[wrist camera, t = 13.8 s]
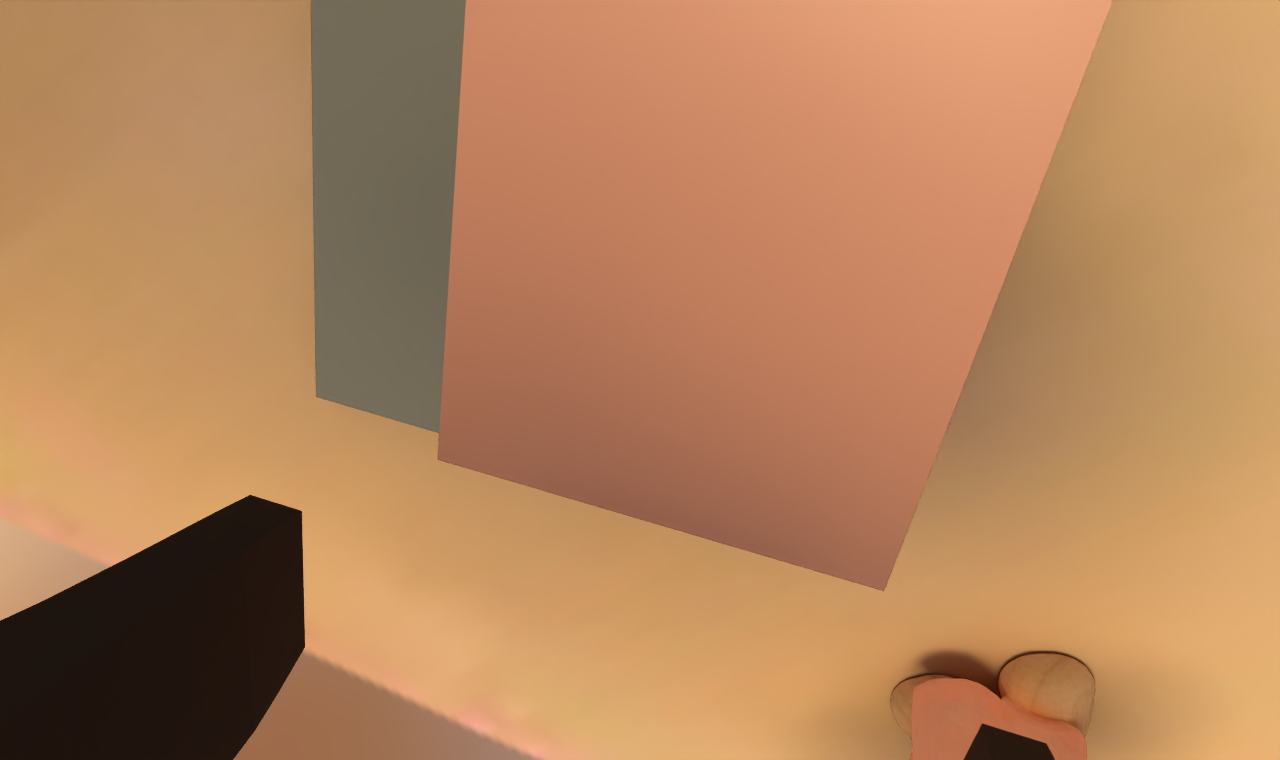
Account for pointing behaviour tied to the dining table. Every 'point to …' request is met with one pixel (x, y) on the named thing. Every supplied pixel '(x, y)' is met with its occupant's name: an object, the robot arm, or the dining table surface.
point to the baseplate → (384, 199)
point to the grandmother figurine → (999, 708)
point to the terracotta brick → (741, 251)
